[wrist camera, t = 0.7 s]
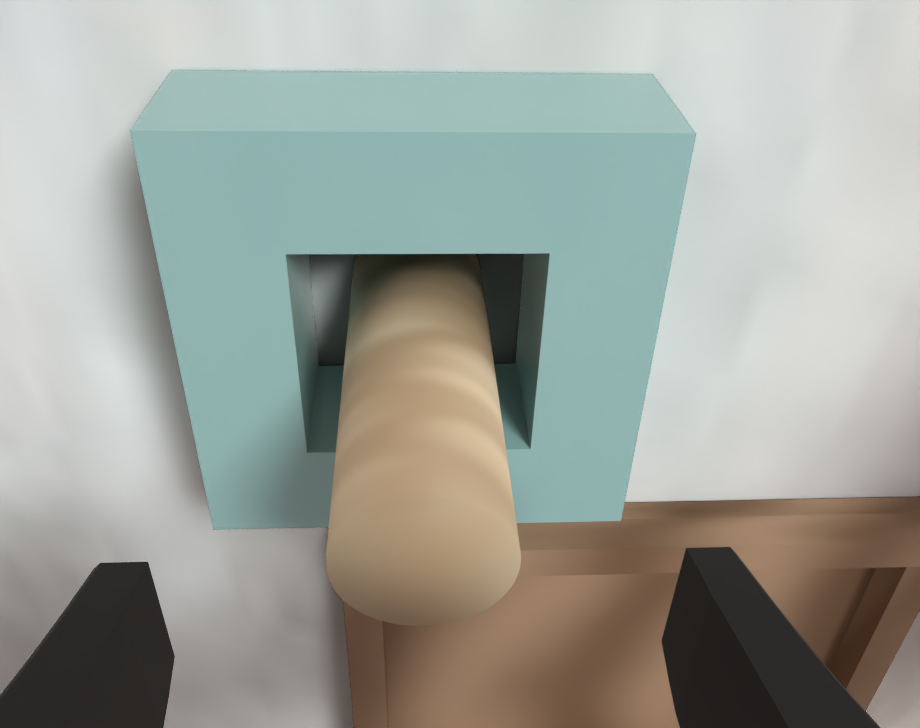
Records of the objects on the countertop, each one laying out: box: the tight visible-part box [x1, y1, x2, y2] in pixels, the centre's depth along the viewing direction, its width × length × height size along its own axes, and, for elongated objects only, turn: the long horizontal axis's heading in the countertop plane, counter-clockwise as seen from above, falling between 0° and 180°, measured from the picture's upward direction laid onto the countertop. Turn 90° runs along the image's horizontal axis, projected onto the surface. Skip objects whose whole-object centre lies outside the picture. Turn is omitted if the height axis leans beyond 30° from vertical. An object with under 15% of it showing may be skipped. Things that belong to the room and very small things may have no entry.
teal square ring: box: [130, 70, 696, 530], centre depth 18 cm, size 9×9×3 cm
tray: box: [343, 497, 920, 728], centre depth 26 cm, size 16×12×2 cm
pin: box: [326, 254, 521, 626], centre depth 16 cm, size 3×3×8 cm
